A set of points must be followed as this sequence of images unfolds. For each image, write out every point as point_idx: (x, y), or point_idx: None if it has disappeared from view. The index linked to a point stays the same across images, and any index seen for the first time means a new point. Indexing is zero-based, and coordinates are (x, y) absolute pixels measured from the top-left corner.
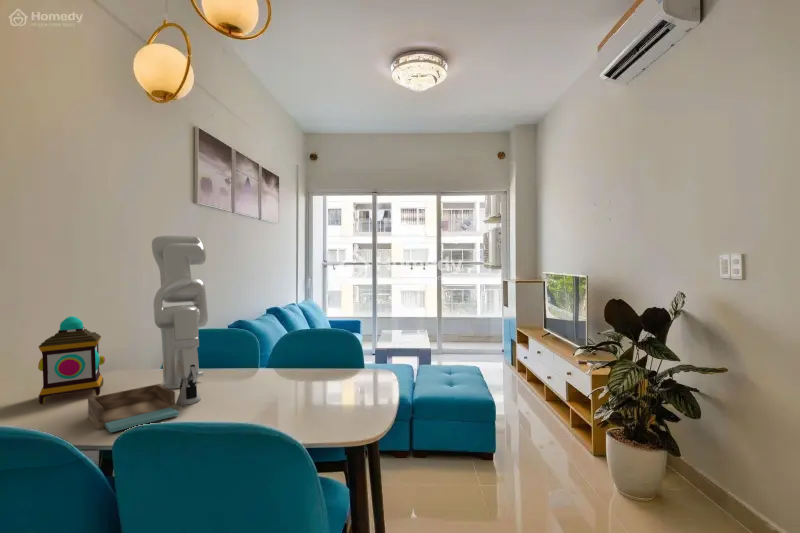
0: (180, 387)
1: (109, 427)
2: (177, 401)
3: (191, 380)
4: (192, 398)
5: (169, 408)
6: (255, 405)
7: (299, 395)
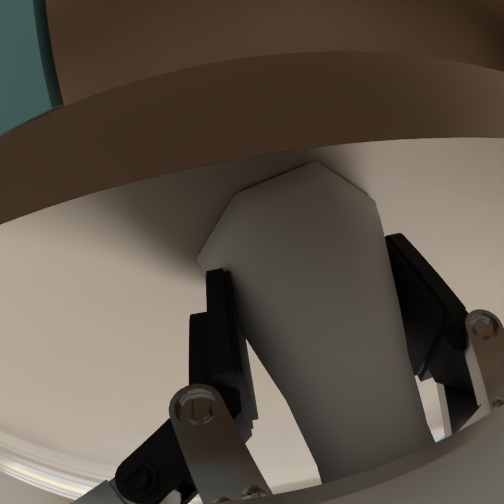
0: (433, 291)
1: None
2: (307, 181)
3: (123, 497)
4: None
5: (13, 102)
6: (31, 423)
7: (94, 475)
